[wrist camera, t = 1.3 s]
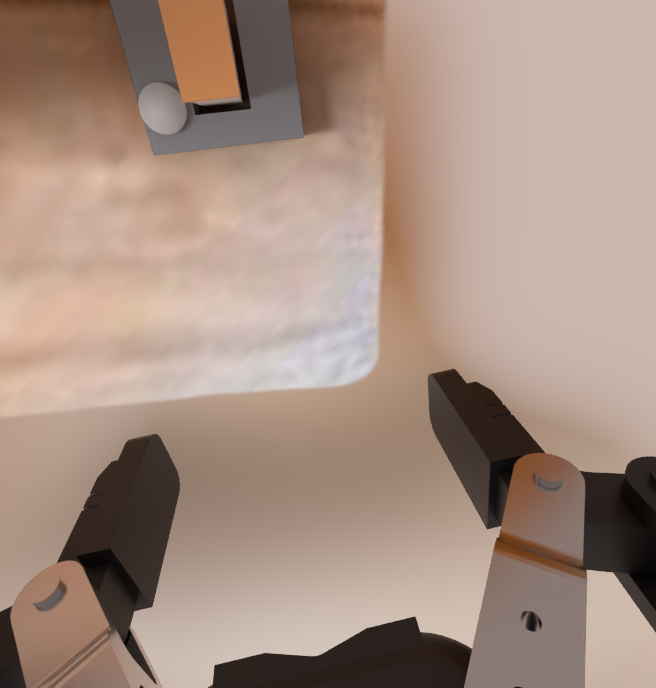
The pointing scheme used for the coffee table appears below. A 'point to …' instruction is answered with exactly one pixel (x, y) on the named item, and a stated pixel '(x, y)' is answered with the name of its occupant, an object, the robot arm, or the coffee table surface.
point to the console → (184, 118)
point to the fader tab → (202, 51)
